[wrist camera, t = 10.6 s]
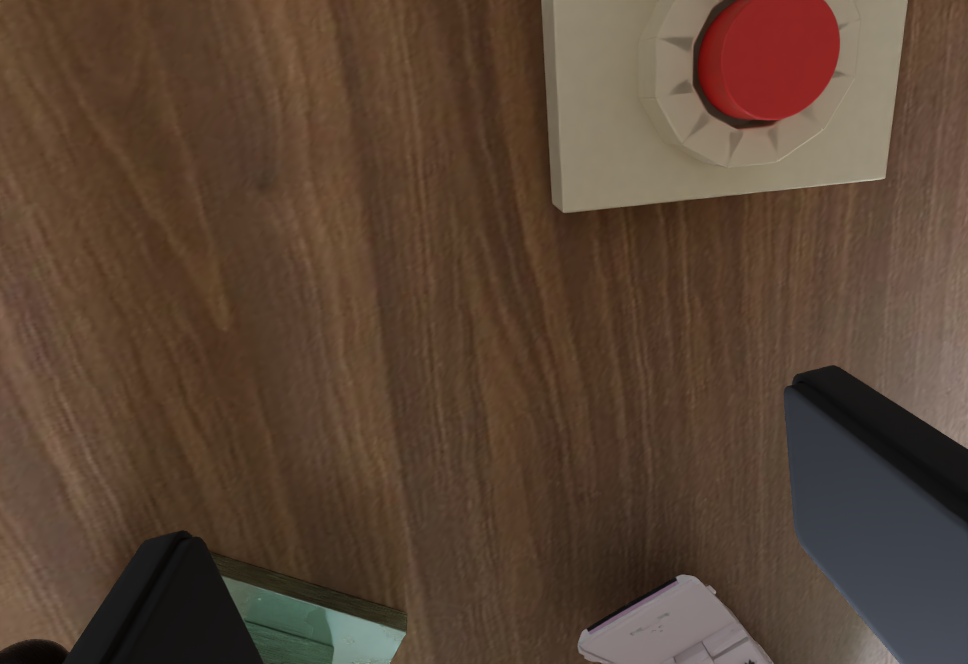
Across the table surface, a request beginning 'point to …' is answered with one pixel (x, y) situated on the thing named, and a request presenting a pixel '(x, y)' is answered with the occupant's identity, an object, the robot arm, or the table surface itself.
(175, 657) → the robot arm
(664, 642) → the mobile phone
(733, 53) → the button
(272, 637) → the bracket
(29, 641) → the lever
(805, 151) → the button block
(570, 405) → the table surface
